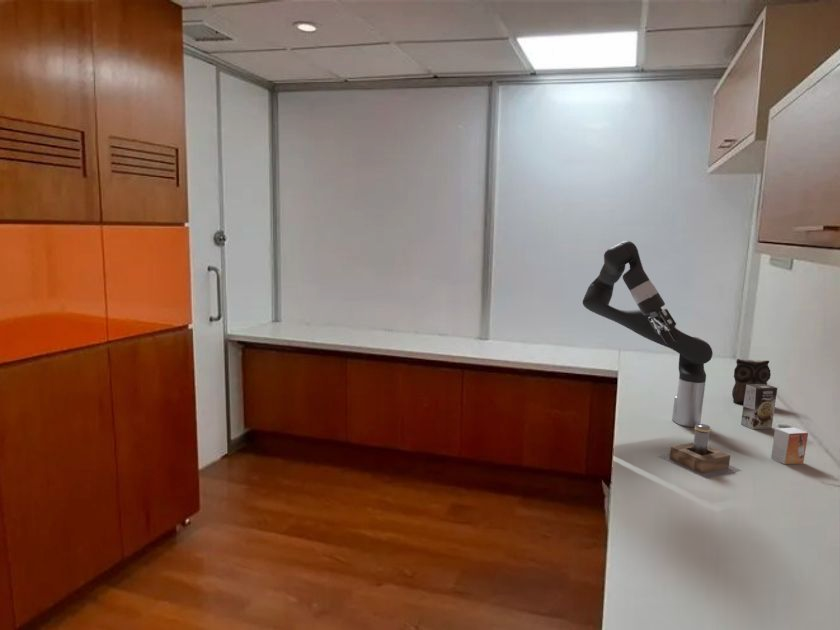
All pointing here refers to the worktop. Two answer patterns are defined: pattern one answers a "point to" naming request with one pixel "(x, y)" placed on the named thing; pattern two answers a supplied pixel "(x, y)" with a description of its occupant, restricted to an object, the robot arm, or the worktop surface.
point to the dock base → (705, 475)
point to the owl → (748, 377)
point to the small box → (789, 445)
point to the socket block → (699, 458)
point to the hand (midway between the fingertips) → (673, 341)
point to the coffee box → (759, 406)
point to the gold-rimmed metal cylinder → (701, 439)
